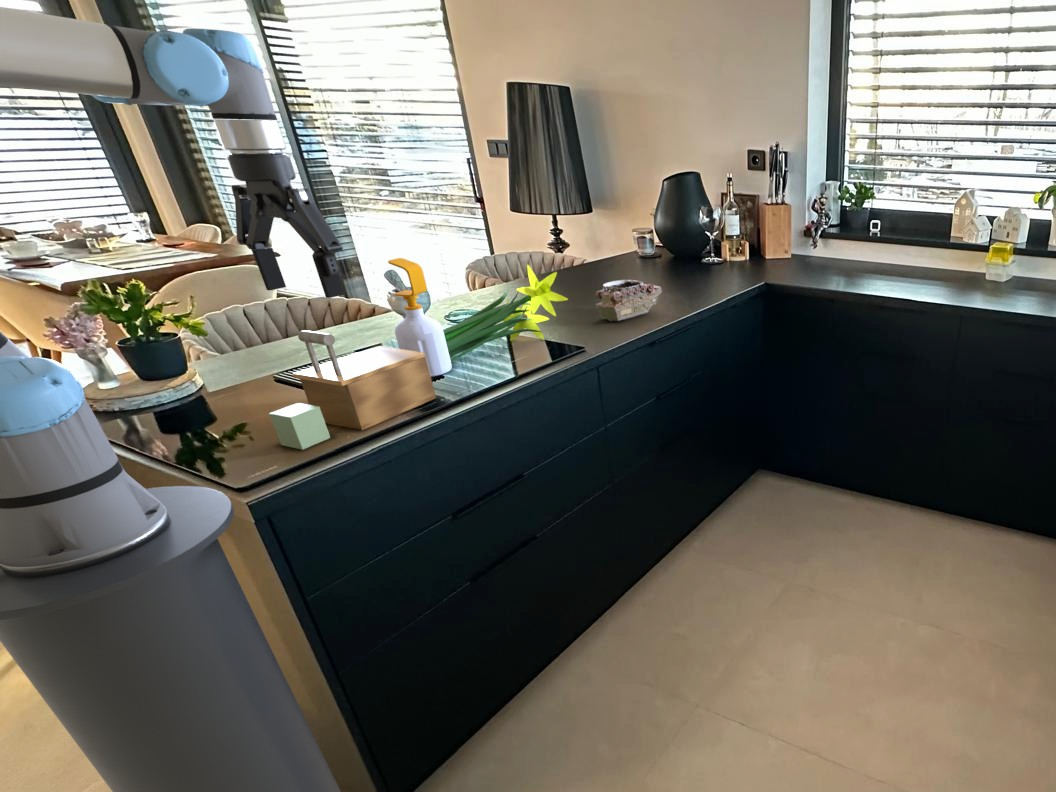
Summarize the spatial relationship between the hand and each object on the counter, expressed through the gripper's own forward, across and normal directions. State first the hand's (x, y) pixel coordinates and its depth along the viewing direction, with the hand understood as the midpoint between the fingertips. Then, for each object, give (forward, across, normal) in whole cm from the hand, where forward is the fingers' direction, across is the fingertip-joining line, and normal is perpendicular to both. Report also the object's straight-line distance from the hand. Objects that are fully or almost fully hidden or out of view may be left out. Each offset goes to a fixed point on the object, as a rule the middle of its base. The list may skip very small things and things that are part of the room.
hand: (305, 292), depth 104 cm
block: (+24, 0, +8) cm, 25 cm away
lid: (+15, +1, -6) cm, 17 cm away
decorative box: (+25, -4, -87) cm, 90 cm away
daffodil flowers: (+25, +6, -46) cm, 52 cm away
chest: (+24, +1, -7) cm, 25 cm away
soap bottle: (+24, +9, -27) cm, 37 cm away
